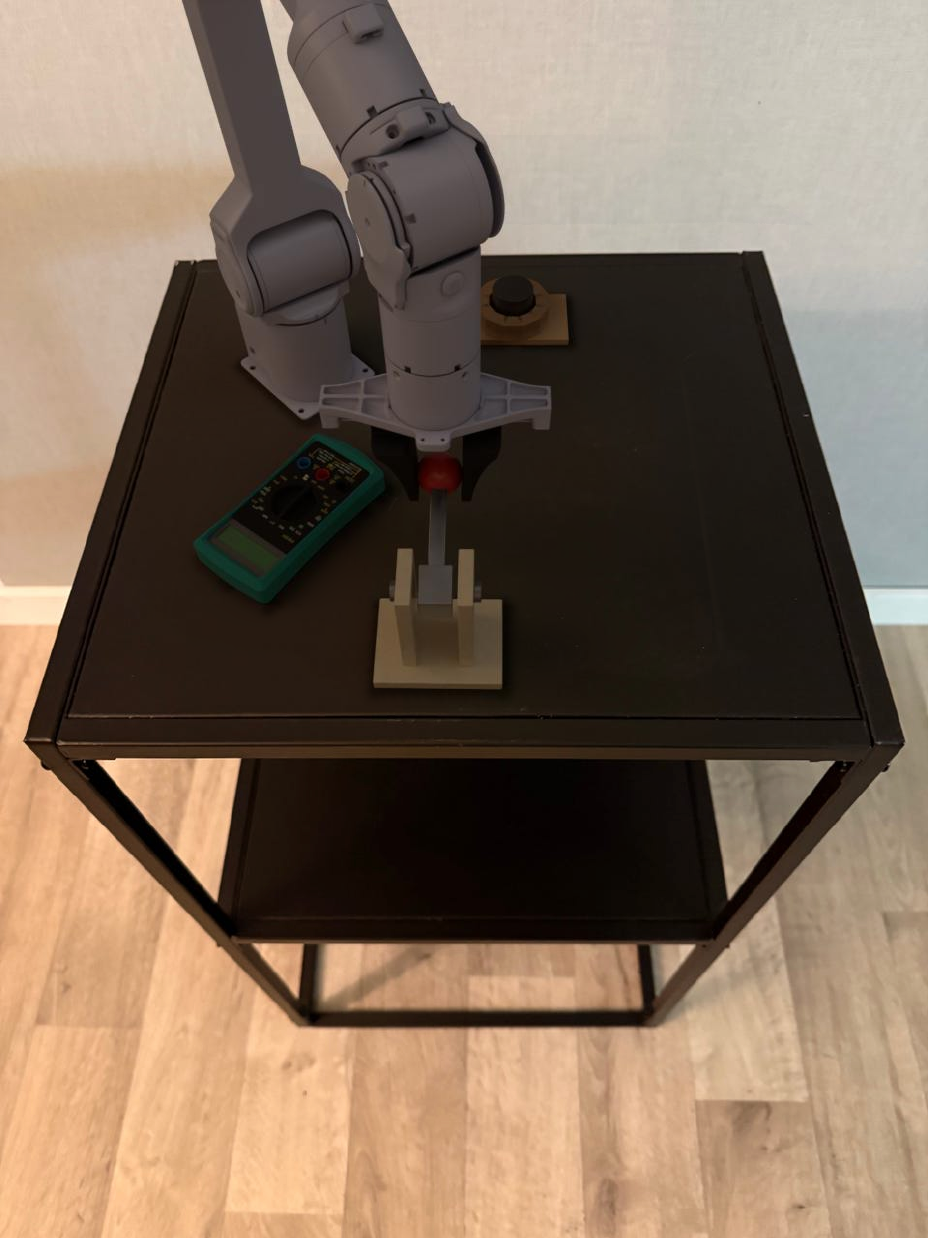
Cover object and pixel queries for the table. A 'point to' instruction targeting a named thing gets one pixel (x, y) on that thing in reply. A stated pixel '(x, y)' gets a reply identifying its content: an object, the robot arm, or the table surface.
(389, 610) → the switch bracket
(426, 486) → the switch lever
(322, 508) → the digital multimeter
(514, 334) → the button block
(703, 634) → the table surface
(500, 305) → the button
